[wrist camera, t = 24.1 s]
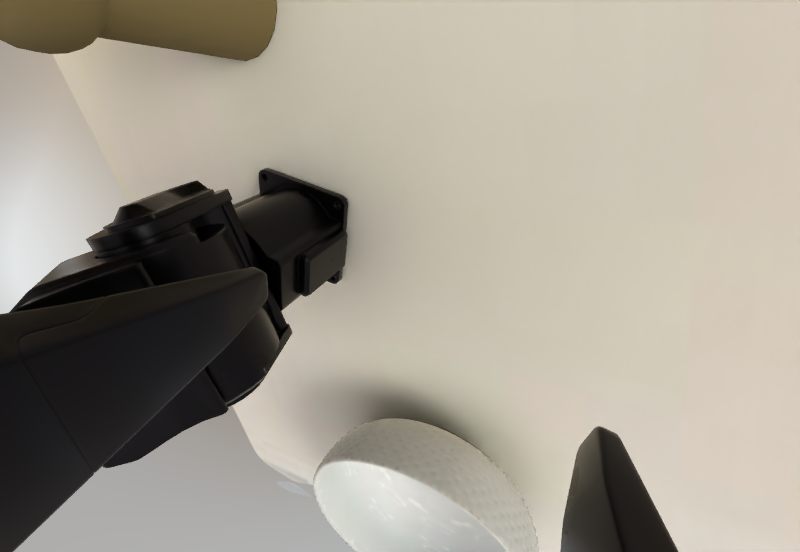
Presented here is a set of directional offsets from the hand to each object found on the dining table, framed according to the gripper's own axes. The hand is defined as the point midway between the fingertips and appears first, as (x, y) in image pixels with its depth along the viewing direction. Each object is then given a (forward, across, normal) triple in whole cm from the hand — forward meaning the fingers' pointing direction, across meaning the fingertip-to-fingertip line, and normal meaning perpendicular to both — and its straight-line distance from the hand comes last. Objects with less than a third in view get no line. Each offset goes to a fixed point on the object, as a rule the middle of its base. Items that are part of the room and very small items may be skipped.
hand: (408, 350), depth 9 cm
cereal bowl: (+12, -2, +23) cm, 26 cm away
